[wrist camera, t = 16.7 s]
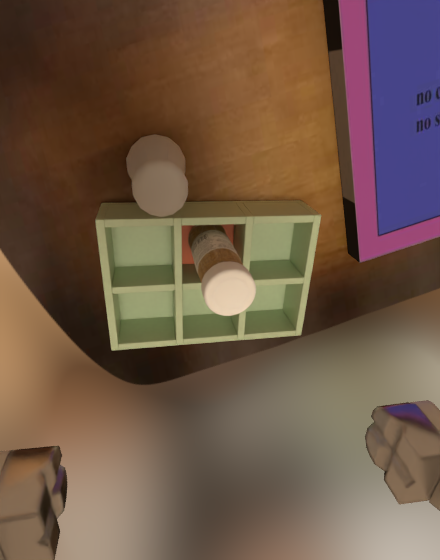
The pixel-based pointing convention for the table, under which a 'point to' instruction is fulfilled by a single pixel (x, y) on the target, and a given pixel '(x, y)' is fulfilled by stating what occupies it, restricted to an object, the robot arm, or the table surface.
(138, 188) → the salt shaker
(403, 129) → the book
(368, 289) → the table surface
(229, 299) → the sprinkles bottle
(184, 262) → the rack
